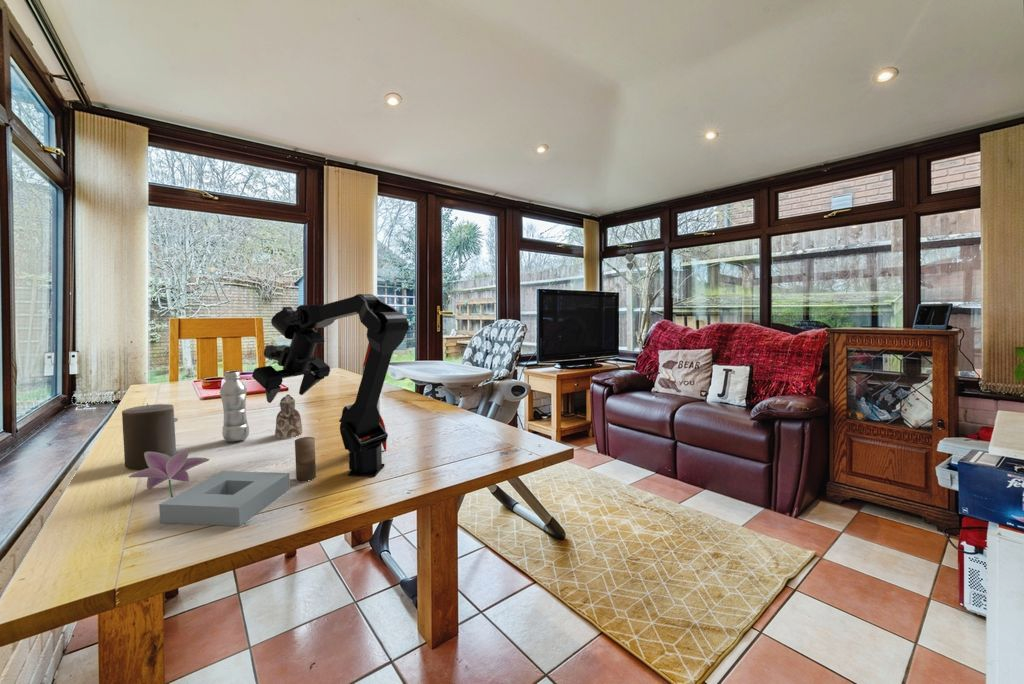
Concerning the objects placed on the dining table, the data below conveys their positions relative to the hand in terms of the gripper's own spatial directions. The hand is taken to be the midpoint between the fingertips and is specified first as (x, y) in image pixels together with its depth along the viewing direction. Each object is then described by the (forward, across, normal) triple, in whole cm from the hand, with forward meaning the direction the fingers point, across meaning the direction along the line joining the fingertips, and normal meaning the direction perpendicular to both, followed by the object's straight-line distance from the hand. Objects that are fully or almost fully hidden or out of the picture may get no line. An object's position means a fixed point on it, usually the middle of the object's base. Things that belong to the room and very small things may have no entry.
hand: (285, 397), depth 111 cm
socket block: (+3, +26, +22) cm, 34 cm away
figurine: (+18, -8, -2) cm, 20 cm away
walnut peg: (+2, +10, +25) cm, 27 cm away
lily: (+12, +27, +7) cm, 31 cm away
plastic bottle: (+22, +2, -10) cm, 25 cm away
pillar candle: (+23, +21, -12) cm, 33 cm away
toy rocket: (+3, -10, +25) cm, 27 cm away
